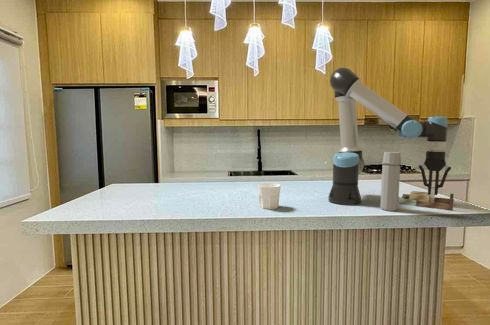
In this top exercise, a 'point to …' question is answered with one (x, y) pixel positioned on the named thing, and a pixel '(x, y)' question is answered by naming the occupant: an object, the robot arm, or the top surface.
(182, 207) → the top surface
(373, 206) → the top surface
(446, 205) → the bay
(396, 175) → the water bottle
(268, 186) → the cup
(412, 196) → the crate
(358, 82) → the robot arm
